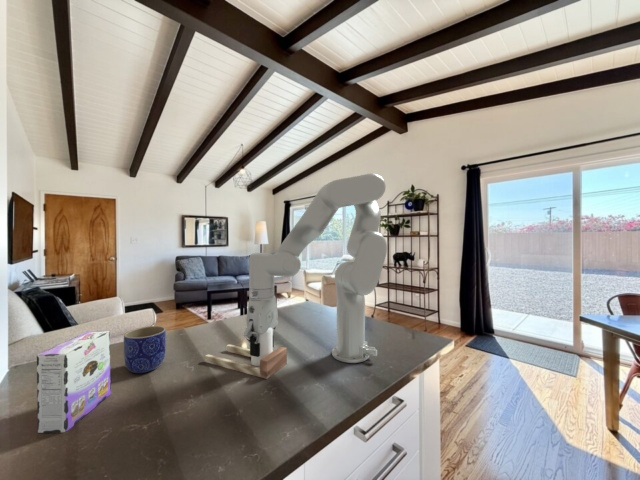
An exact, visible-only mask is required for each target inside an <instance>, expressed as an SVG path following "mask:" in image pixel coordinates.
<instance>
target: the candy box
mask: <svg viewBox="0 0 640 480" xmlns="http://www.w3.org/2000/svg"><path fill="white" fill-rule="evenodd" d="M110 332H111V331H110V330H103V331H102V330H100V331H96V330H95V331H86V332H83V333H82V334H78V335H77V336H75V337H73V338H71V339H69V340H65V342H62V343H60V344H58V345H55V346H53V347H52V348H49V349H48V350H44V351H42V352H41V353H39V354H36V391H37V393H36V398H37V400H36V405H37V408H36V409H37V434H45V433H46V434H49V433H51V434H52V433H53V434H54V433H58V434H59V433H66V432H68V431H69V430H71V429H72V428H73V427H74V426H75V425H77V424H78V423H79V422H80V421H81V420H82V419H83V418H84V417H86V416H87V414H89V413H91V411H92V410H94V409H95V408H96V407H97V406H99V405H100V404H101V403H102V401H104V400H105V399H107V398H108V397H109V396H110V395H111V394H112V388H111V387H112V385H111V384H112V383H111V380H112V379H111V340H110V339H111V336H110V335H111V333H110Z"/></svg>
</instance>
